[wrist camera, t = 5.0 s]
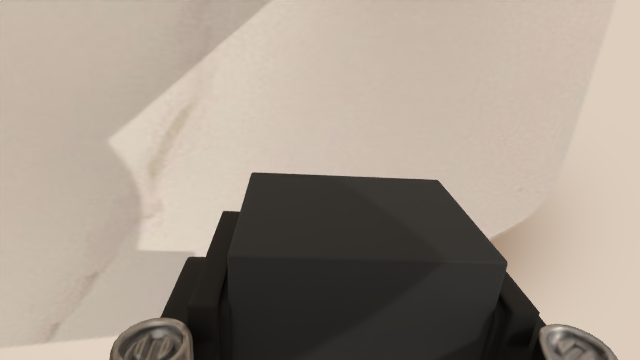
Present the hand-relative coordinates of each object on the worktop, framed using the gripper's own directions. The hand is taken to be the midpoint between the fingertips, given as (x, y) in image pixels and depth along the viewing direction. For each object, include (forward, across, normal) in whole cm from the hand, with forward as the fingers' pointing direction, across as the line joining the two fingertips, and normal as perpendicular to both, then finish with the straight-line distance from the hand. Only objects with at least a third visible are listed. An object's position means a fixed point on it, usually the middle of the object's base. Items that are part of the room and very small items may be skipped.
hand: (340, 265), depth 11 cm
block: (+1, 0, 0) cm, 1 cm away
